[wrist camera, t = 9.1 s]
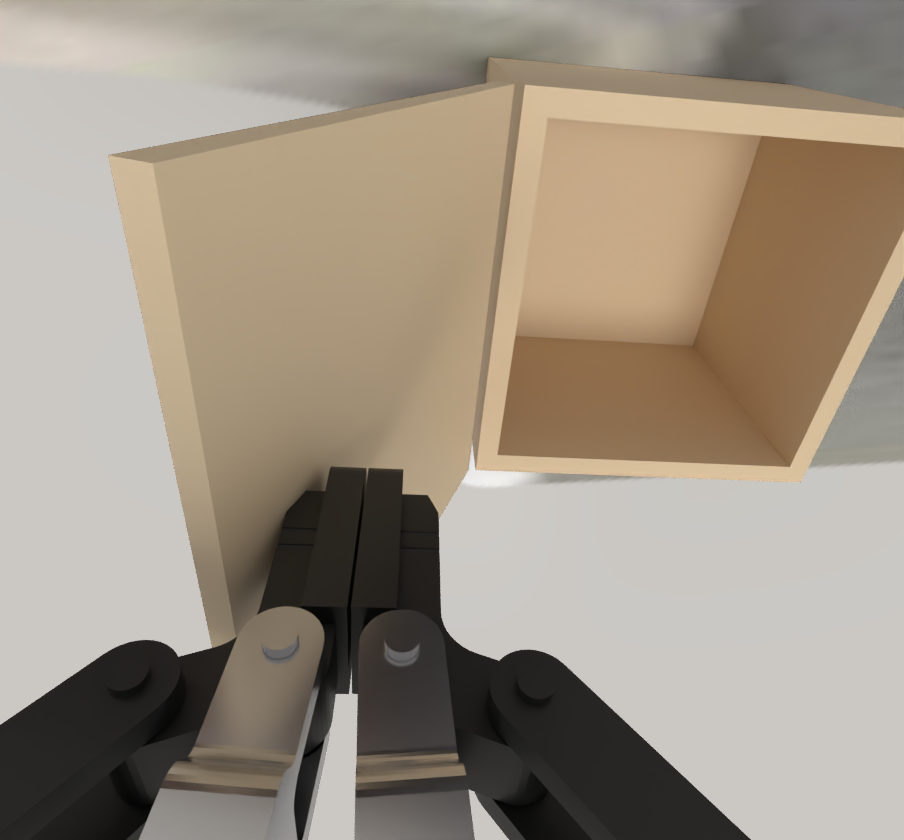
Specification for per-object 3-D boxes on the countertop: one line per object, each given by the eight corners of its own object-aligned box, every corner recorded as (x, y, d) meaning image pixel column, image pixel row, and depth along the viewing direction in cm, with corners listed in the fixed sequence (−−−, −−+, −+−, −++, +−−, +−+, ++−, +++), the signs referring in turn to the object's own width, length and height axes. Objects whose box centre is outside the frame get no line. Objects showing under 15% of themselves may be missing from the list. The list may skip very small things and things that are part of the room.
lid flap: (153, 163, 7) (101, 153, 7) (265, 807, 14) (240, 794, 14) (514, 83, 18) (491, 81, 18) (468, 469, 25) (452, 465, 26)
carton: (786, 84, 29) (980, 124, 19) (697, 352, 36) (800, 482, 27) (488, 57, 28) (525, 84, 18) (460, 339, 35) (475, 470, 25)
